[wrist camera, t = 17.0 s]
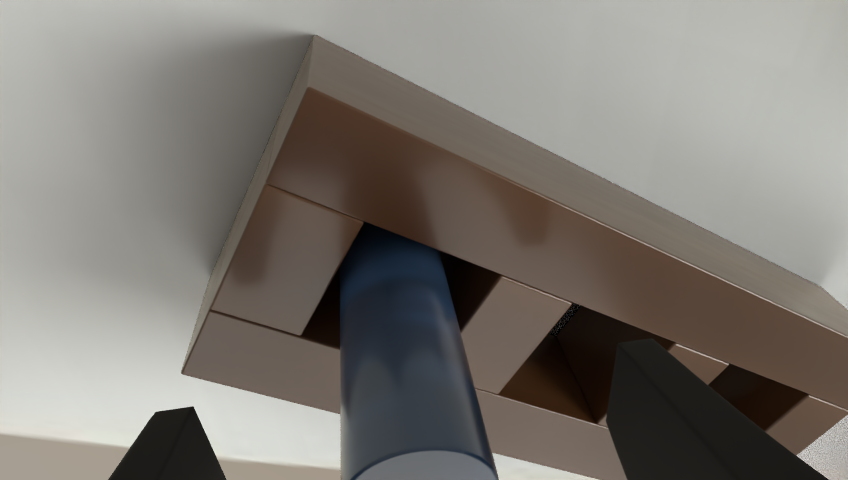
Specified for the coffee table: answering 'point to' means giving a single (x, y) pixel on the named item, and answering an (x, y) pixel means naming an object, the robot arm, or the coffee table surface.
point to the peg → (405, 368)
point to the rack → (502, 274)
